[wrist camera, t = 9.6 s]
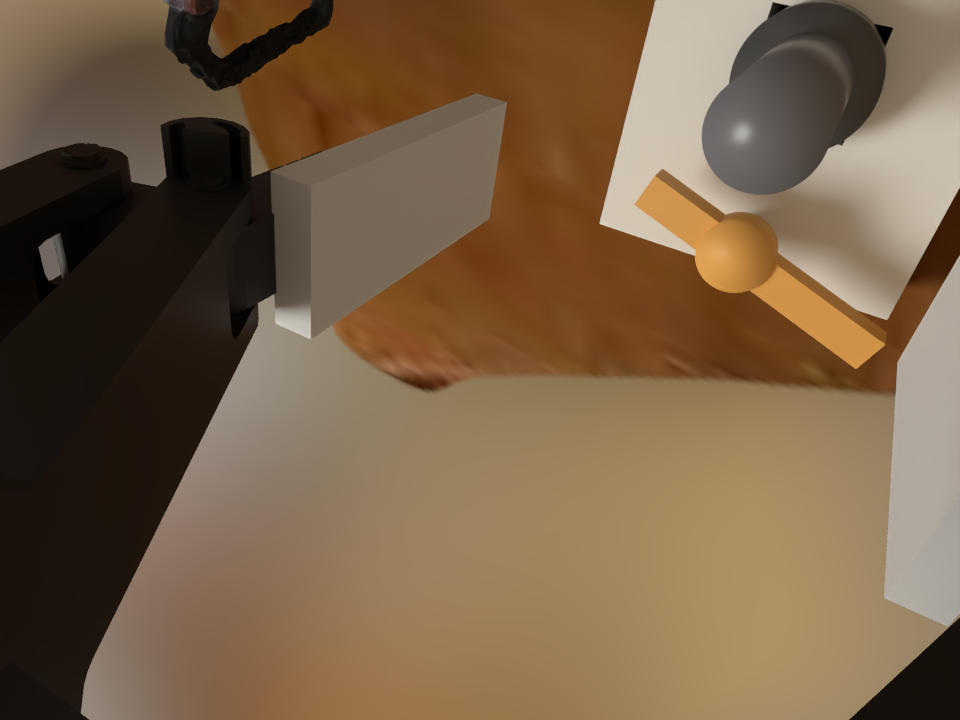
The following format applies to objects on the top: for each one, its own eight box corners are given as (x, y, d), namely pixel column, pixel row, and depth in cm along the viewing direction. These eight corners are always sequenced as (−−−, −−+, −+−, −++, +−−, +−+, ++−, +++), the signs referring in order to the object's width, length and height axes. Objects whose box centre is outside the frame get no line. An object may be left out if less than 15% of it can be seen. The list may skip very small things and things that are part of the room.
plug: (779, -21, 32) (701, 10, 20) (914, 6, 30) (911, 56, 19) (736, 107, 35) (648, 195, 24) (856, 139, 33) (823, 250, 22)
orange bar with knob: (632, 210, 33) (622, 219, 32) (673, 153, 31) (664, 161, 30) (844, 367, 32) (841, 382, 31) (901, 319, 30) (900, 333, 29)
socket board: (733, -209, 30) (699, -233, 25) (1128, -161, 25) (1172, -179, 21) (623, 201, 40) (586, 235, 35) (890, 286, 35) (885, 338, 31)
